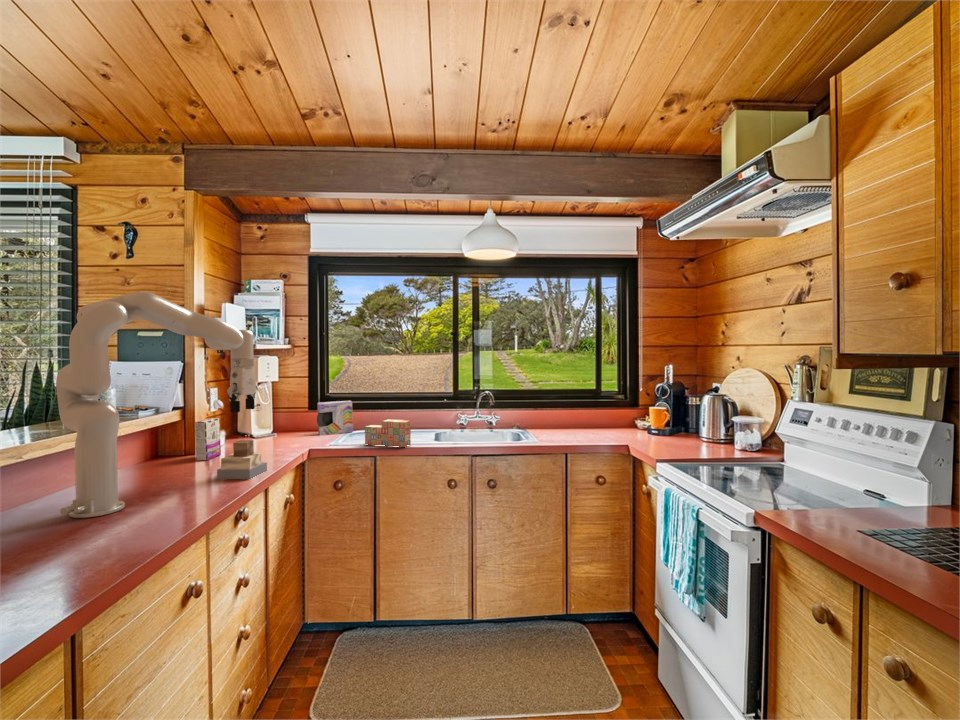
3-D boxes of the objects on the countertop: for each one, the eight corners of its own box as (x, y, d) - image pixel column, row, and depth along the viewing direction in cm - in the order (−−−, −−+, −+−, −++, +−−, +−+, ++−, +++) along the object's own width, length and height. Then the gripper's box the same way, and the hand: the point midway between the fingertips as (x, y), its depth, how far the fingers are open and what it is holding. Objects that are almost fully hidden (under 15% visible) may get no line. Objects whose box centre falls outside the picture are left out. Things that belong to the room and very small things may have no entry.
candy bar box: (209, 455, 215) (209, 418, 214) (221, 455, 215) (220, 418, 214) (194, 461, 203) (194, 421, 203) (206, 461, 203) (206, 421, 203)
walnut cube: (247, 456, 177) (247, 442, 176) (233, 456, 177) (233, 442, 176) (253, 453, 182) (253, 440, 181) (240, 453, 182) (239, 440, 181)
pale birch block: (249, 469, 174) (249, 458, 174) (221, 469, 174) (221, 458, 173) (261, 462, 184) (261, 452, 184) (234, 463, 183) (233, 452, 183)
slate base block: (249, 481, 173) (249, 470, 173) (217, 481, 174) (217, 469, 174) (266, 472, 185) (266, 462, 185) (236, 472, 186) (236, 462, 185)
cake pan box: (317, 435, 263) (317, 403, 262) (316, 434, 267) (315, 402, 267) (353, 432, 272) (353, 401, 272) (351, 431, 276) (350, 400, 276)
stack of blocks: (364, 446, 234) (364, 420, 233) (371, 443, 240) (370, 418, 239) (405, 448, 227) (404, 421, 227) (411, 445, 233) (410, 420, 233)
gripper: (238, 364, 169) (239, 413, 169) (264, 363, 186) (264, 408, 187) (218, 364, 170) (218, 413, 170) (245, 363, 187) (245, 408, 187)
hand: (242, 410), depth 178 cm, fingers open, 9 cm apart
